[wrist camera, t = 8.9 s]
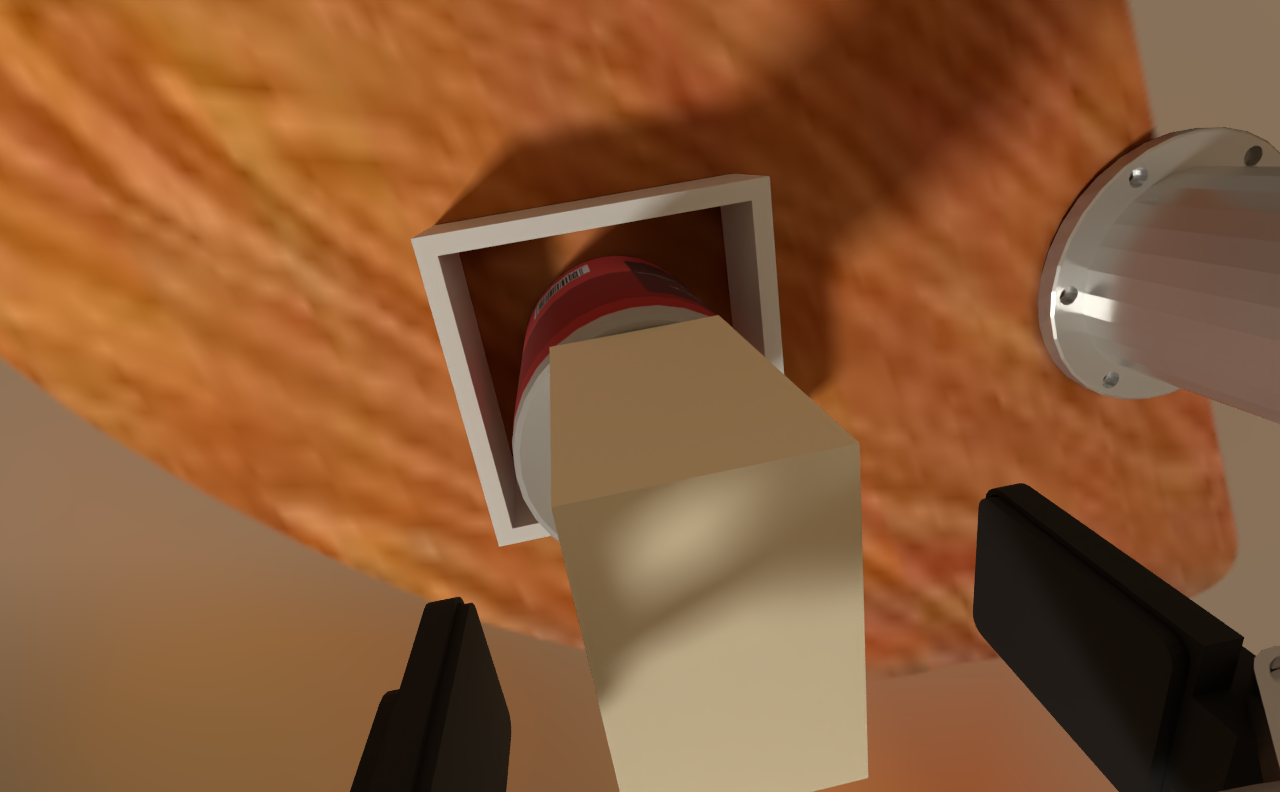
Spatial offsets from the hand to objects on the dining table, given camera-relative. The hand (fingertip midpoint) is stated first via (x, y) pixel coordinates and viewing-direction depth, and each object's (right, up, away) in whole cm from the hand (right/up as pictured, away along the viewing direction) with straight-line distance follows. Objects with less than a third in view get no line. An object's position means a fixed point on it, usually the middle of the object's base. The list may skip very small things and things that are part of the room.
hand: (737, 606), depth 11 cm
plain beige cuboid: (-1, +2, +6) cm, 7 cm away
